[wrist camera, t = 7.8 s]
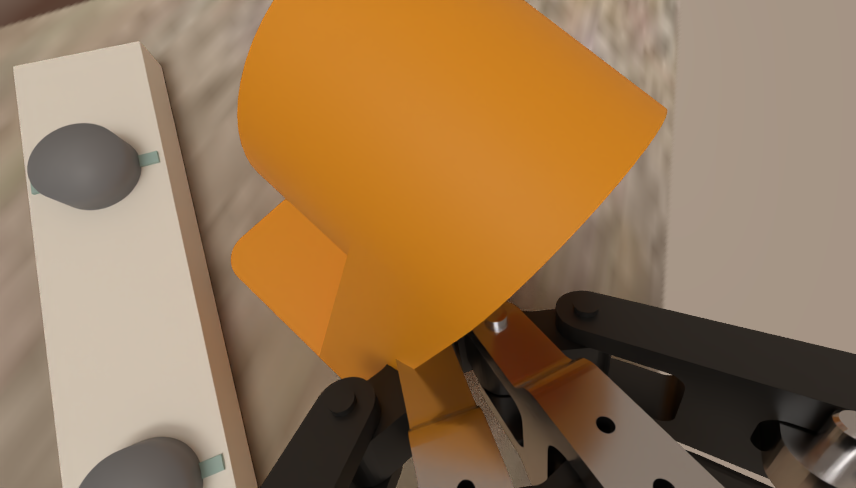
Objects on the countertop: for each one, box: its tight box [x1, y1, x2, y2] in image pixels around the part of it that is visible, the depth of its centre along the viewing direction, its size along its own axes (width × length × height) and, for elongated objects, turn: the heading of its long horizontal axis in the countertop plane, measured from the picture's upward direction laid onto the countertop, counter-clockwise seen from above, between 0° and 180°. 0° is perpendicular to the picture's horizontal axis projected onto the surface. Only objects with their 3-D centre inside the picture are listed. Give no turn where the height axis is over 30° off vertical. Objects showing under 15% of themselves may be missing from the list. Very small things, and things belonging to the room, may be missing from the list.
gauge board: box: [13, 41, 258, 488], centre depth 13 cm, size 5×24×2 cm, turn 20°
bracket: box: [231, 0, 667, 380], centre depth 10 cm, size 11×7×12 cm, turn 138°
